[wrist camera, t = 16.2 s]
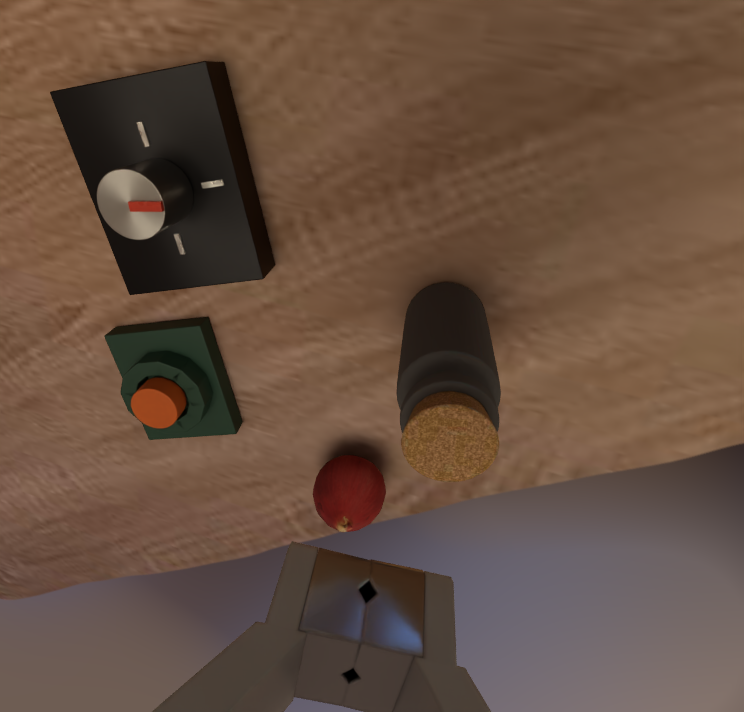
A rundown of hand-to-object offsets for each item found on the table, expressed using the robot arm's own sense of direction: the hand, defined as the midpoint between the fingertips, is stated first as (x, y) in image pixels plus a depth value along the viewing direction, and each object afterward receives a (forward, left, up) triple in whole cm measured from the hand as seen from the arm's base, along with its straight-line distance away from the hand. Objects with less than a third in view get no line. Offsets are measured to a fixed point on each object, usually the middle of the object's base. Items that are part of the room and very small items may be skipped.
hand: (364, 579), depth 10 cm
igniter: (+5, -23, -29) cm, 37 cm away
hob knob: (-8, -14, -26) cm, 31 cm away
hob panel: (-8, -14, -29) cm, 33 cm away
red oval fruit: (+18, -13, -29) cm, 37 cm away
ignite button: (+5, -23, -26) cm, 35 cm away
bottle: (+8, -1, -29) cm, 30 cm away
